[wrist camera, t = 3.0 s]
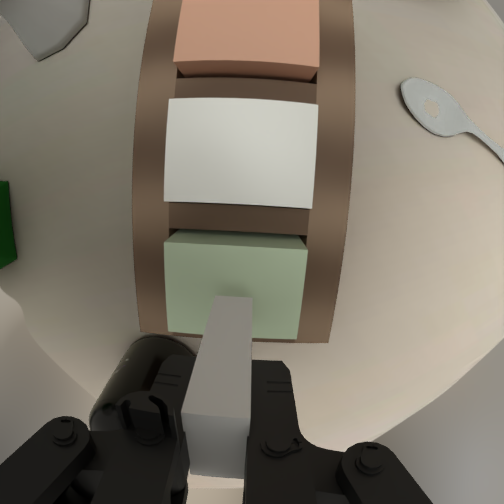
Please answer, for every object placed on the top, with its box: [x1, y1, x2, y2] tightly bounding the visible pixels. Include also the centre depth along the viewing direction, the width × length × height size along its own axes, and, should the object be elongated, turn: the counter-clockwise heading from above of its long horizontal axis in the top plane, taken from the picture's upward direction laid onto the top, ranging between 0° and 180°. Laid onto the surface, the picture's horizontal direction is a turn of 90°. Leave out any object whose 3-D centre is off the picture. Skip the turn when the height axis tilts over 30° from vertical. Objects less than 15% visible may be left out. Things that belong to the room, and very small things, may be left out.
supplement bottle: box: [89, 337, 194, 431], centre depth 18 cm, size 7×7×12 cm
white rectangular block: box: [164, 98, 318, 209], centre depth 15 cm, size 5×7×4 cm
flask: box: [0, 0, 89, 61], centre depth 10 cm, size 7×7×10 cm
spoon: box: [401, 78, 504, 163], centre depth 18 cm, size 4×21×2 cm, turn 73°
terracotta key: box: [173, 0, 320, 83], centre depth 13 cm, size 5×7×4 cm
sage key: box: [164, 229, 308, 339], centre depth 17 cm, size 5×7×4 cm
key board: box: [132, 0, 355, 343], centre depth 17 cm, size 22×12×4 cm, turn 177°
